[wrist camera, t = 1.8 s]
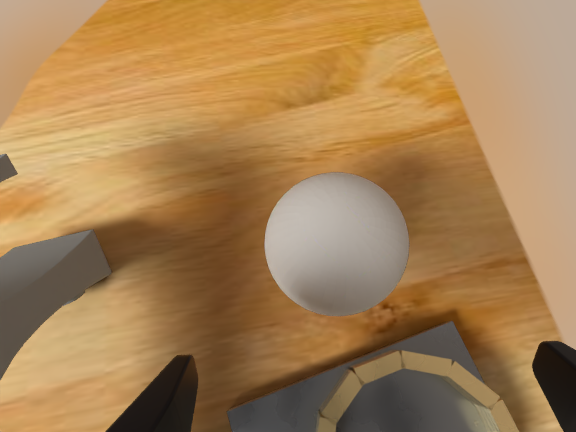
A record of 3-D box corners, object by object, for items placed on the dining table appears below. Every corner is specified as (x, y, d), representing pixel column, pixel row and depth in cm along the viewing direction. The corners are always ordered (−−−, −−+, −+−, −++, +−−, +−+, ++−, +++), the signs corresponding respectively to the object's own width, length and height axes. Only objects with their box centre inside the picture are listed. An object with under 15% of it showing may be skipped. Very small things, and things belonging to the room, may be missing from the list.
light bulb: (309, 212, 22) (315, 118, 13) (389, 260, 21) (461, 195, 12) (257, 288, 21) (221, 243, 11) (341, 345, 19) (378, 349, 10)
